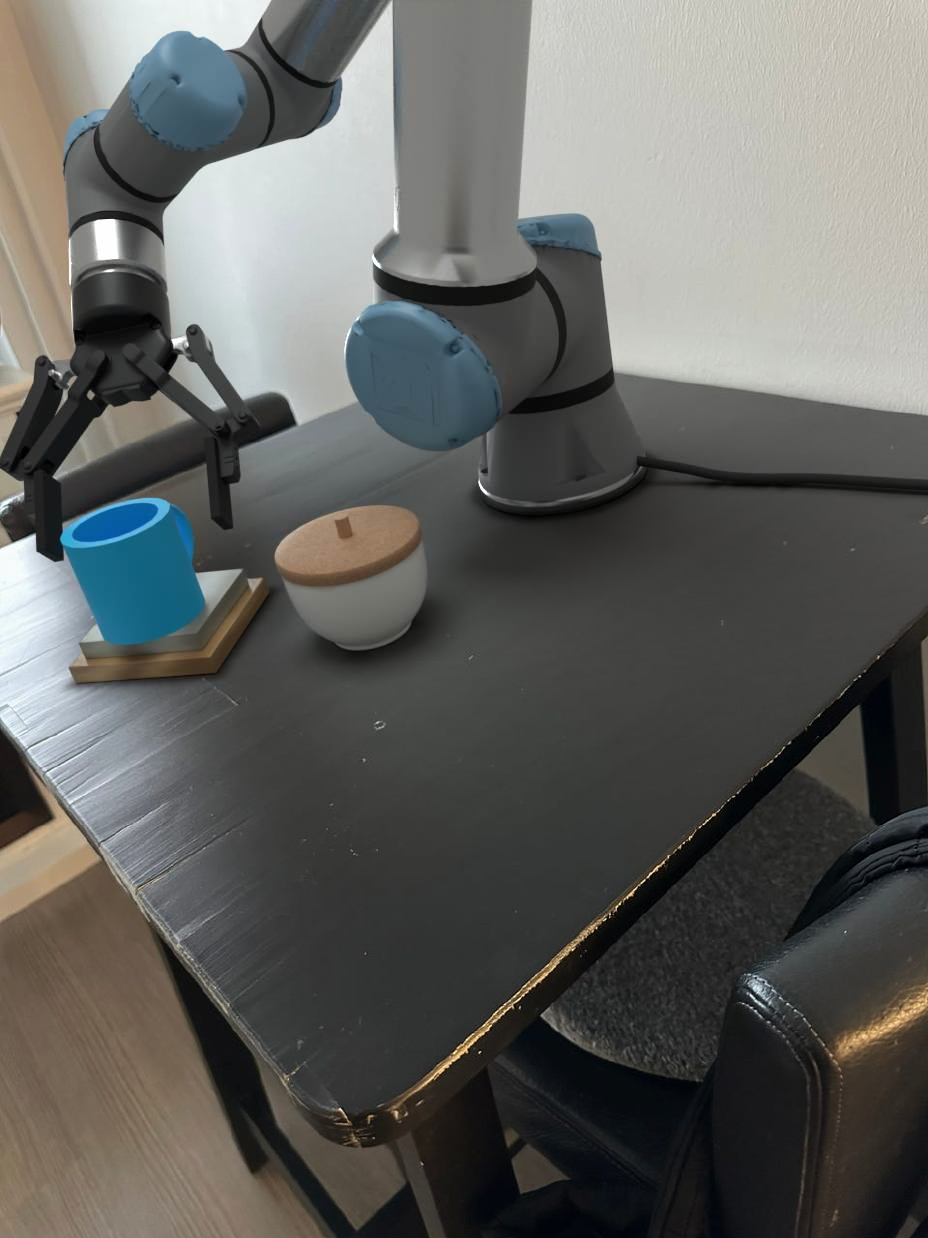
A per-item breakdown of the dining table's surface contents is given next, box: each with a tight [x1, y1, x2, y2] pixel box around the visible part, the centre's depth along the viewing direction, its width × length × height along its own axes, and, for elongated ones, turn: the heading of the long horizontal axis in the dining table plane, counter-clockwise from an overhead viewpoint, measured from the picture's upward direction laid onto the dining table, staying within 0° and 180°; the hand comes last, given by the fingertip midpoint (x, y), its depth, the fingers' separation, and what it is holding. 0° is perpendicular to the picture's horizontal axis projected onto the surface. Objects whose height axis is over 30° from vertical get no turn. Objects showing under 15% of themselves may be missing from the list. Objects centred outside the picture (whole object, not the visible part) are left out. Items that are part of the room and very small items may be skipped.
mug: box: [60, 497, 205, 645], centre depth 79 cm, size 12×8×8 cm
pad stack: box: [68, 568, 270, 684], centre depth 82 cm, size 12×12×3 cm
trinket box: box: [273, 504, 428, 651], centre depth 75 cm, size 11×11×9 cm
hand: (135, 540), depth 77 cm, fingers open, 13 cm apart
